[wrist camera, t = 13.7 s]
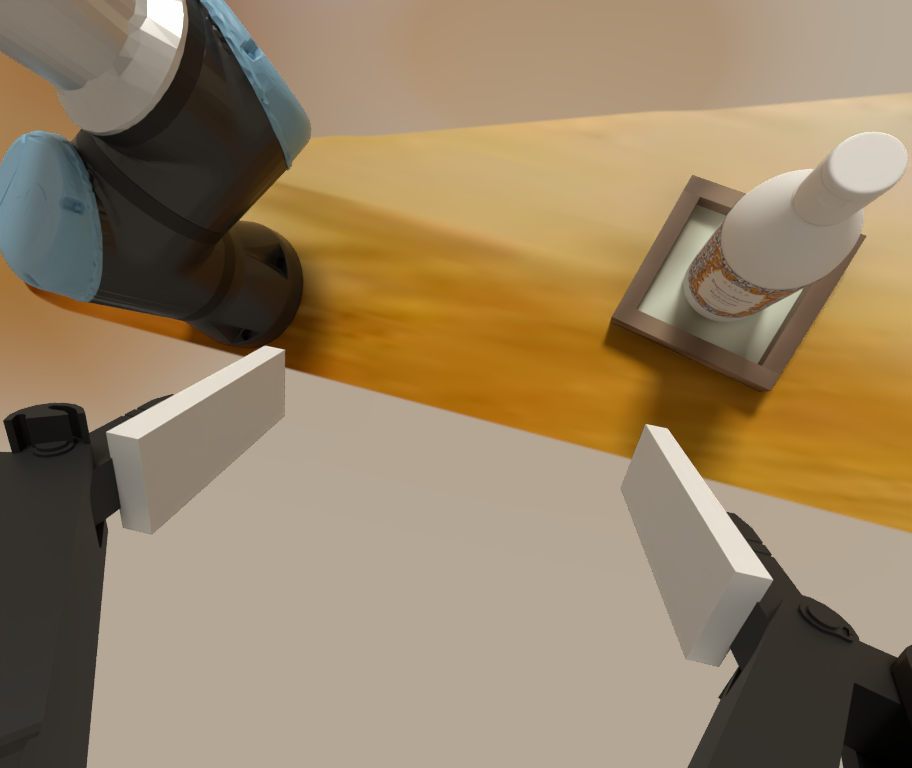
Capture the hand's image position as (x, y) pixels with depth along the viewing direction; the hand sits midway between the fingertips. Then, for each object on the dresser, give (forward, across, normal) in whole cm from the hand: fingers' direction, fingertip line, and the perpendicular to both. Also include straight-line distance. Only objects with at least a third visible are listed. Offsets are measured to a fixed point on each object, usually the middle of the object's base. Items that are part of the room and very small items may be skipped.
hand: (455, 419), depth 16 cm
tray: (+28, +20, +4) cm, 35 cm away
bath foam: (+28, +20, +4) cm, 34 cm away
